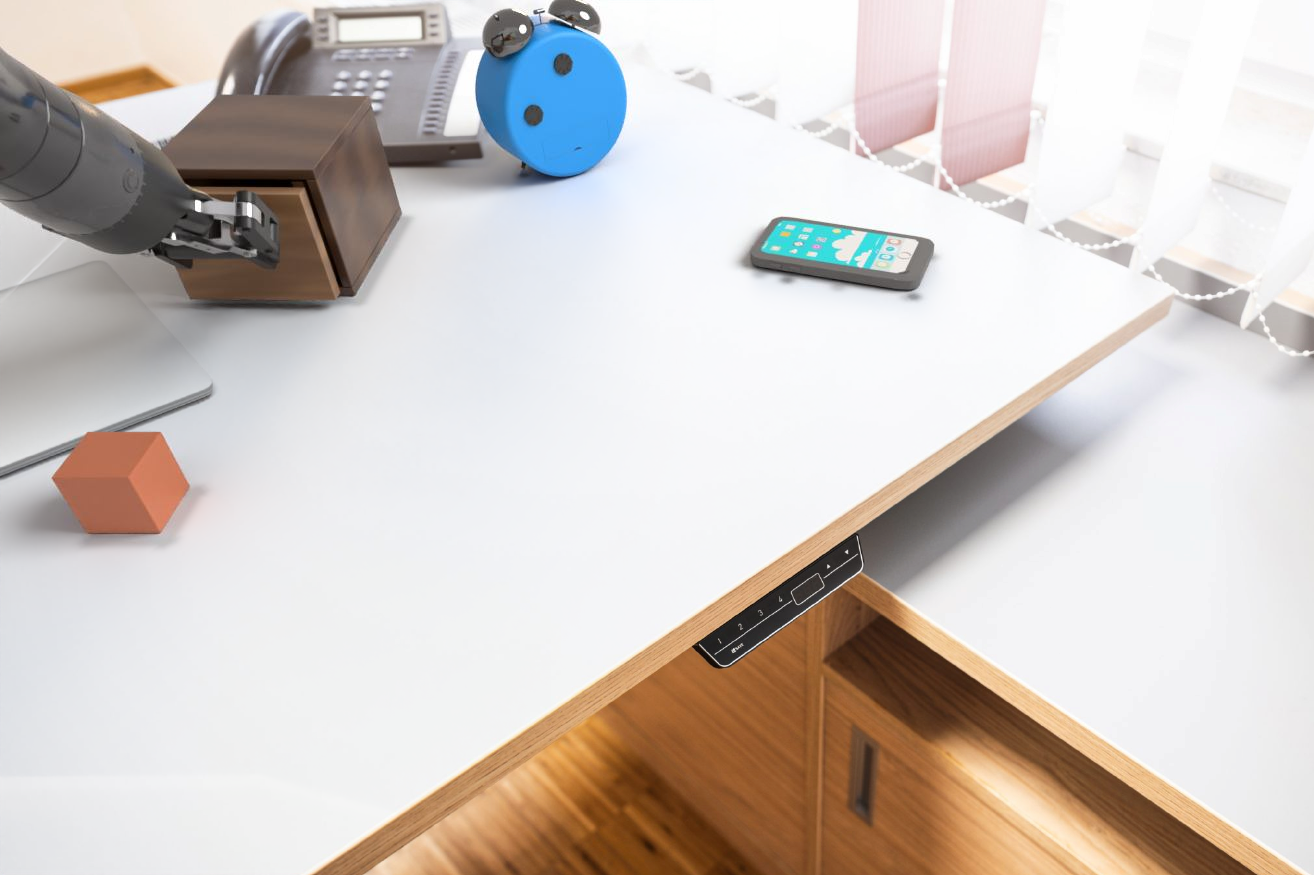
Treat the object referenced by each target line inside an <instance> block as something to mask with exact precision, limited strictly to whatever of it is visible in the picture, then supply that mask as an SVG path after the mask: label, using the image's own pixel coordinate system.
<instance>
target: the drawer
mask: <svg viewBox="0 0 1314 875" xmlns="http://www.w3.org/2000/svg"><path fill="white" fill-rule="evenodd" d="M182 180H183V181H184V183H185V184H187V185H189V186H190V187H191V188H194V189H197V190H200V191H203V192H205V193H207V194H208V195H209V196H210V197H212V198H215V199H218V200H221V201H224V202H234V198H235V197H236V191H240V190H247V191H250V192H253V193H255V194H256V195H257V196H258V197H259V198H260V199H261V200H262V201H263V202H264V203H265V205H266V206H267V207H268V208H269V209H270V210H271V211H272V212H273V213H274V214H275V215H276V217H277V218H278V242H279V243H280V263H277V267H276V269H264V268H262V267H260V266H258V265H257V264H255V263H253V262H251V261H250V260H248V259H246V258H244V257H243V256H242V255H239V254H235V253H232V252H229V251H228V252H223V253H217V254H212V253H209V252H206V251H203V250H199V249H196V248H193V247H189V246H186V245H180V246H174V245H171V244H167V243H164V250H165V253H166V255H167V256H168V257H169V258H171V259H193V266H192V268H191V269H180V268H178V267H176V266H174V267H175V270H176V272H177V274H178V277H179V278H180V281H181V283H182V285H183V288H184V289H185V292H186V294H187V296H188V299H189V300H195V301H197V300H198V301H199V300H200V301H201V300H205V301H206V300H208V301H209V300H210V301H211V300H214V301H216V300H217V301H219V300H227V301H228V300H229V301H230V300H232V301H233V300H234V301H237V300H238V301H243V300H244V301H245V300H246V301H247V300H248V301H269V300H270V301H337V299H338V297H340V296H339V294H340V290H339V287H338V284H337V281H336V279H337V277H338V276H339V275H338V272H337V269H336V266H335V263H334V260H333V257H332V254H331V251H330V248H329V245H328V242H327V239H326V236H325V233H324V230H323V227H322V224H321V221H320V219H319V216H318V213H317V210H316V207H315V204H314V201H313V198H312V195H311V192H310V189H309V186H308V183H307V180H280V179H182ZM204 238H207V239H209V231H208V233H207V234H206V236H205V237H204ZM231 238H232V239H233V240H234V241H237V242H238V235H236V234H234V225H231Z"/></svg>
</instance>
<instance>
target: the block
mask: <svg viewBox="0 0 1314 875" xmlns="http://www.w3.org/2000/svg"><path fill="white" fill-rule="evenodd" d="M51 480H52V482H53V483H54V485H55V486H56V488H57V489H58V491H59V493H60V494H61V496H62V498H63V499H64V500H65V502H66V504H67V505H68V507H69V508H70V509H71V511H72V513H73V514H74V515H75V517H76V518H77V520H78V522H79V523H80V525H81V526H82V529H83V530H84V531H85V532H86V534H161V533H162V531H163V530H164V528H165V527H166V525H167V523H168V522H169V520H170V519H171V517H172V516H173V514H174V513H175V511H176V509H177V507H178V506H179V505H180V503H181V501H182V500H183V498H184V496H185V495H186V493H187V492H188V490H190V484H189V482H188V480H187V478H186V476H185V474H184V472H183V470H182V468H181V466H180V465H179V463H178V461H177V459H176V457H175V456H174V454H173V452H172V450H171V447H170V446H169V445H168V442H167V440H166V438H165V437H164V434H163V433H162V432H161V431H87V432H86V433H85V434H84V436H83V437H82V438H81V439H80V440H79V442H78V443H77V444H76V446H75V447H74V448H73V450H71V452H70V454H68V456H67V457H66V458H65V459H64V461H63V462H62V463H61V465H60V466H59V467H58V469H57V470H56V471H55V472H54V473H53V475H52V476H51Z"/></svg>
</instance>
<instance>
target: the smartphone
mask: <svg viewBox="0 0 1314 875" xmlns="http://www.w3.org/2000/svg"><path fill="white" fill-rule="evenodd" d="M934 251H935V243H934V242H933V240H931V239H930V238H926V237H923V236H917V235H911V234H903V233H898V232H891V231H885V230H878V229H871V228H864V227H858V226H852V225H845V224H839V223H832V222H825V221H819V220H813V219H806V218H800V217H793V216H777V217H775V218H773V219H771V221H769V223H768V225H767V226H766V228H765V229H764V230H763V231H762V233H761V234H760V236H759V238H758V239H757V240H756V242H755V243H754V245H753V246H752V247H751V249H750V250H749V253H750V256H749V258H750V262H751V263H752V264H753V265H754V266H757V267H759V268H766V269H772V270H776V271H777V270H778V271H784V272H789V273H796V274H802V275H808V276H815V277H821V278H827V279H833V280H839V281H846V282H852V283H858V284H864V285H870V286H876V287H883V288H888V289H895V290H909V291H910V290H914V289H917V288H919V287H920V285H921V283H922V280H923V278H924V277H925V274H926V271H927V269H928V267H929V264H930V262H931V260H932V258H933V256H934V254H935V252H934Z"/></svg>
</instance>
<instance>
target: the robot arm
mask: <svg viewBox="0 0 1314 875" xmlns="http://www.w3.org/2000/svg"><path fill="white" fill-rule="evenodd" d="M0 204H2V205H3V206H5V207H6V208H8V209H9V210H11V211H13V212H15V213H17V214H19V215H20V216H23V217H25V218H27V219H29V220H31V221H33V222H36V223H37V224H40V225H41V228H42V229H43V230H45V231H48V232H50V233H53V234H56V235H59V236H62V237H64V238H68V239H71V240H73V241H75V242H78V243H81V244H83V245H85V246H88V247H89V248H92V249H94V250H97V251H99V252H102V253H106V254H110V255H120V256H121V255H131V254H133V255H134V254H136V255H138V256H141V257H143V258H149V257H155V258H157V259H159V260H162V261H164V262H166V263H168V264H170V265H172V266H174V267H175V266H176V267H178V268H180V269H191V268H192V266H193V259H171V258H169V257H168V256H167V255H166V253H165V250H164V243H167V244H171V245H174V246H180V245H186V246H189V247H193V248H196V249H199V250H203V251H206V252H209V253H212V254H217V253H223V252H228V251H229V252H232V253H235V254H239V255H242V256H243V257H244V258H246V259H248V260H250V261H251V262H253V263H255V264H257V265H258V266H260V267H262V268H264V269H276V267H277V263H280V243H279V242H278V218H277V217H276V215H275V214H274V213H273V212H272V211H271V210H270V209H269V208H268V207H267V206H266V205H265V203H264V202H263V201H262V200H261V199H260V198H259V197H258V196H257V195H256V194H255V193H253V192H250V191H247V190H240V191H236V197H235V198H234V202H224V201H221V200H218V199H215V198H212V197H210V196H209V195H208V194H207V193H205V192H203V191H200V190H197V189H194V188H191V187H190V186H189V185H187V184H185V183H184V181H183V180H182V178H181V177H180V175H179V173H178V172H177V170H176V168H175V167H174V165H173V164H172V162H171V161H170V159H169V158H168V157H167V156H166V155H165V154H164V153H163V152H162V151H161V149H160V148H159V147H158V146H156V145H155V144H153V143H152V142H150V141H148V140H147V139H145V138H144V137H142V136H141V135H140V134H138V133H137V132H135V131H134V130H132V129H130V128H129V127H128V126H126V125H124V124H123V123H121V122H120V121H119V120H117V119H115V118H114V117H112V116H111V115H110V114H108V113H106V112H105V111H104V110H102V109H100V108H99V107H97V106H96V105H95V104H94V103H91V102H89V101H88V100H86V99H85V98H84V97H81V96H80V95H78V94H75V93H73V92H72V91H70V90H67V89H65V88H64V87H63V88H62V87H61V86H58V85H57V84H55V83H53V82H51V81H50V80H48V79H46V78H45V77H44V76H42V75H41V74H39V73H37V72H36V71H35V70H33V69H32V68H30V67H29V66H27V65H25V64H24V63H22V62H21V61H20V60H18V59H16V58H15V57H14V56H12V55H10V54H9V53H7V52H6V50H4V49H3V48H2V47H1V46H0ZM231 225H234V234H236V235H238V242H237V241H234V240H233V239H232V238H231ZM208 231H209V239H207V238H204V237H205V236H206V234H207V233H208Z"/></svg>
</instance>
